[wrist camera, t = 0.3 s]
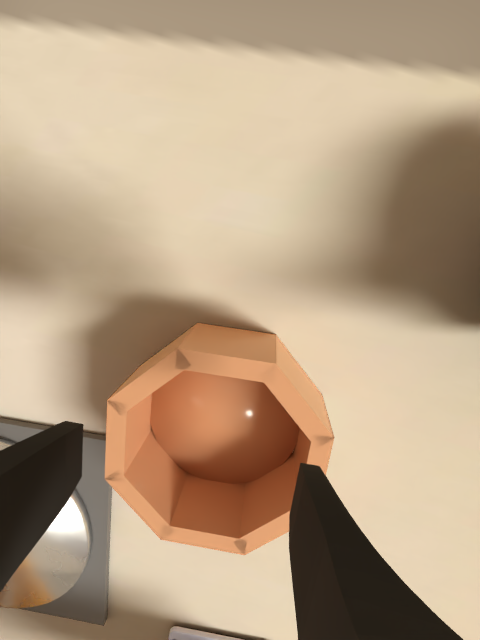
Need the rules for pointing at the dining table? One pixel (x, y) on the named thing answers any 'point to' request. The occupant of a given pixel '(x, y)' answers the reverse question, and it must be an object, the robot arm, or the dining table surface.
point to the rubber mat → (96, 493)
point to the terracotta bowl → (216, 438)
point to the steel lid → (52, 557)
